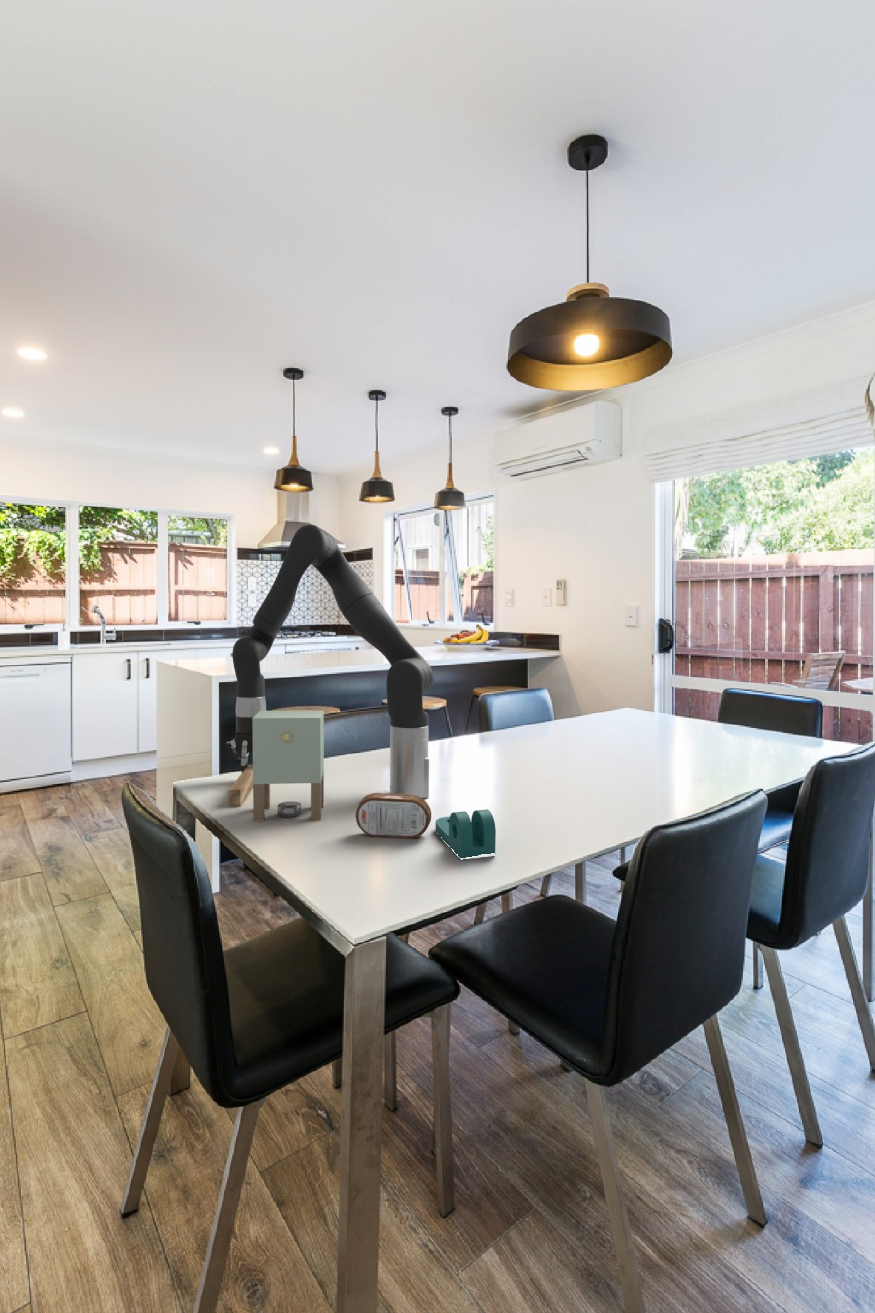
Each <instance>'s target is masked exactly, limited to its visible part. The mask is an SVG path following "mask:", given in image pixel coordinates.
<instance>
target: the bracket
mask: <svg viewBox="0 0 875 1313" xmlns="http://www.w3.org/2000/svg"><path fill="white" fill-rule="evenodd" d="M434 830H435V831H436V832H437V833H438V835H439V836H440V837H442V839H443V840H444V841H445V842H446V843H447V844H448V845H449V846H450V848H452V849H453V850H454V852H455V853H456V854H458V856H459V857H460V858H466V857H472V856H478V855H481V854H491V853H495V854H496V844H497V843H496V841H497V840H496V838H497V837H496V836H497V835H496V834H497V831H496V830H497V829H496V823H495V819H494V816H493V814H492V812H491V811H490V810H489V809H488V808H487V809H476V810H474V811H473V812H472V814H471V817H470V815H469V813H468V812H467V811H455V812H451V813H450V815H449V816H445V817H444V816H443V817H439V818H437V819H436V820H435V829H434ZM436 832H435V833H436ZM438 835H437V836H438ZM439 836H438V837H439ZM440 837H439V838H440ZM442 839H441V840H442ZM443 840H442V841H443ZM450 848H449V849H450Z"/></svg>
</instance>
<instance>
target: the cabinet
mask: <svg viewBox="0 0 875 1313" xmlns="http://www.w3.org/2000/svg"><path fill="white" fill-rule="evenodd" d="M324 713H325V712H324V710H323V709H322V710H266V711H260V712H259V713H258V714H256V715H255V716H254V717H253V718H252V720H253V752H252V765H253V789H252V797H253V798H252V805H253V806H252V807H253V808H252V811H253V812H252V813H253V818H252V820H253V822H264V821H265V817H266V816H265V812H266V811H265V809H268V810H270V808H271V785H277V784H278V785H280V784H281V785H282V784H283V785H284V784H285V785H287V784H288V785H289V784H310V820H311V821H318V820H319V821H320V820H321V819H322V809H324V806H325V805H324V804H325V800H324V799H325V798H324V797H325V796H324V795H325V794H324V792H325V790H324V789H325V788H324V786H325V783H324V782H325V780H324V778H325V776H324V774H325V773H324V772H325V768H324V767H325V766H324V764H325V763H324V761H325V760H324V759H325V758H324V756H325V755H324V751H325V749H324V747H325V744H324V743H325V742H324V741H325V738H324V737H325V735H324V732H325V729H324V728H325V727H324V722H325V721H324V716H325V714H324Z"/></svg>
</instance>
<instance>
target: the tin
mask: <svg viewBox="0 0 875 1313" xmlns="http://www.w3.org/2000/svg"><path fill="white" fill-rule="evenodd" d="M429 805H430V804H428V802H427V801H426V800H425V799H424V798H420V797H418V796H415V795H404V794H390V793H385V792H383V793H382V792H373V793H370V794H369V793H368V794H367V795H365V796H364V797H363V798H362V799H360V801H359V802H358V805H357V808H356V811H355V821H356V824H357V826H358V828H359V829H360V830H361V831H362V833H364V834H365V835H368V836H369V837H370V836H371V837H376V838H377V837H378V838H395V839H417V838H418V837H421V836H422V835H423V834H425V832H426V831H427V830H428V828H429V826H430V824H431V822H432V811H431V810H432V809H431V807H430V806H429Z"/></svg>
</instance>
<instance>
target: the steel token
mask: <svg viewBox="0 0 875 1313" xmlns="http://www.w3.org/2000/svg"><path fill="white" fill-rule="evenodd" d="M300 816H302V803H301V802H299V801H295V800H294V801H283V802H280V803H278V804H277V818H280V819H286V820H287V819H295V818H298V817H300Z"/></svg>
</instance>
